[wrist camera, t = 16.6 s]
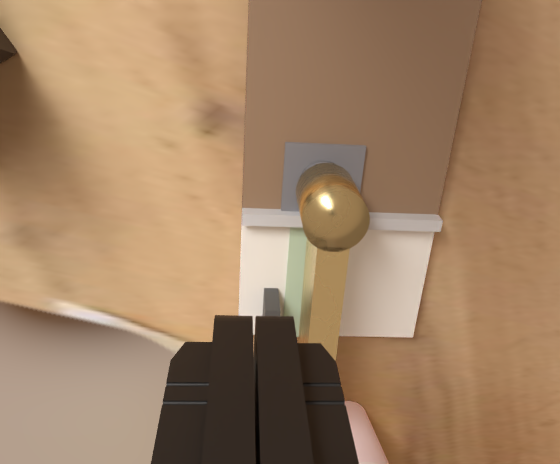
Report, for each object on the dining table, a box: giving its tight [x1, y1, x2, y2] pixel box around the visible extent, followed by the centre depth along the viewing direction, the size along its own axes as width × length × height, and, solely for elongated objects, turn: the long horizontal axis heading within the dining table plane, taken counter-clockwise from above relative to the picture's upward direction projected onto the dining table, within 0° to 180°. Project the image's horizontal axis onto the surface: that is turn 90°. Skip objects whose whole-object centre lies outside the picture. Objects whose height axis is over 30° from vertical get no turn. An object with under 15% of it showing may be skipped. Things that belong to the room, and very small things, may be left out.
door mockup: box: [239, 0, 482, 337], centre depth 33 cm, size 24×13×4 cm, turn 177°
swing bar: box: [296, 163, 370, 361], centre depth 33 cm, size 15×4×5 cm, turn 177°
